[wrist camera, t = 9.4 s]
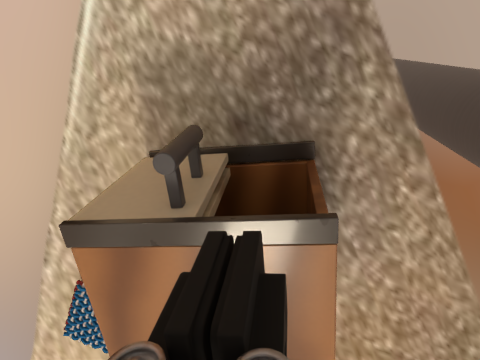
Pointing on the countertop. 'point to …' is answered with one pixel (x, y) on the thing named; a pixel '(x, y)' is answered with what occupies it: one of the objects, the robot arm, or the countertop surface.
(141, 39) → the countertop surface
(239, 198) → the cabinet
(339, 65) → the countertop surface
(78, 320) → the woven mat
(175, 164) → the sliding door
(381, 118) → the countertop surface
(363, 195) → the countertop surface
